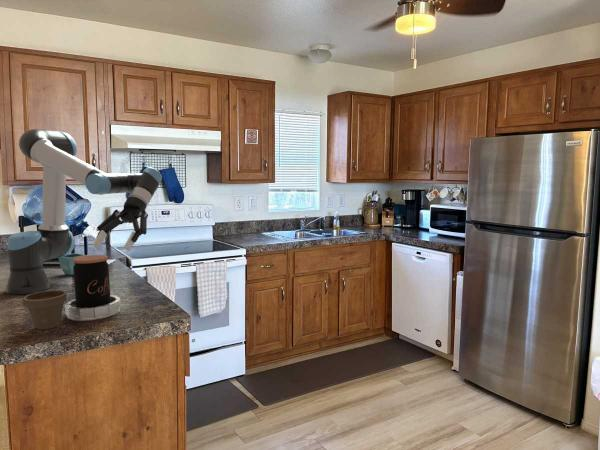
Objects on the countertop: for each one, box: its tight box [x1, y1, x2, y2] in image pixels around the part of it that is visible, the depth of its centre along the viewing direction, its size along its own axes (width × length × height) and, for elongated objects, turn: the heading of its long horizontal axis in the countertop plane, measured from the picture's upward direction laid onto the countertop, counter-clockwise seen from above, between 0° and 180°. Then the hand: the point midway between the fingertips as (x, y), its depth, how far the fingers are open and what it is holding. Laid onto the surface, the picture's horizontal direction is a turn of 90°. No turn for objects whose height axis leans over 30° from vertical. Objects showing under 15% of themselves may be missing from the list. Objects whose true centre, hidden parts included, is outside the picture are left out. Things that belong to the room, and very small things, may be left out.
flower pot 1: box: [22, 289, 68, 330], centre depth 141 cm, size 12×11×10 cm
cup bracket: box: [64, 294, 122, 322], centre depth 155 cm, size 16×16×4 cm
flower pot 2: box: [58, 252, 87, 276], centre depth 217 cm, size 9×9×9 cm
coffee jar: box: [73, 254, 111, 308], centre depth 154 cm, size 11×11×18 cm
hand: (110, 248), depth 161 cm, fingers open, 13 cm apart
